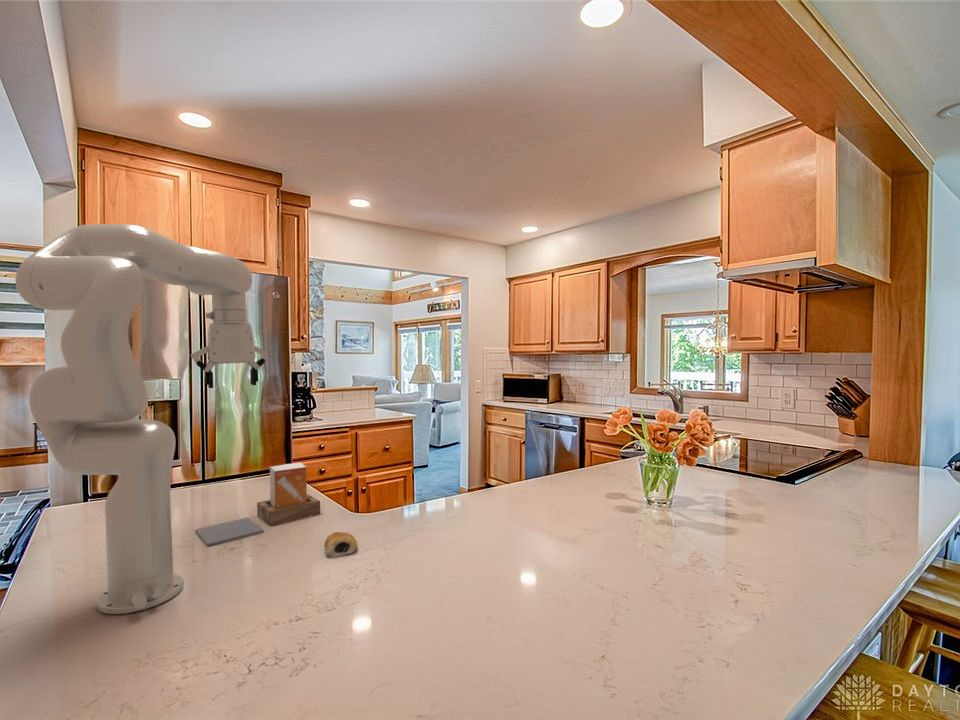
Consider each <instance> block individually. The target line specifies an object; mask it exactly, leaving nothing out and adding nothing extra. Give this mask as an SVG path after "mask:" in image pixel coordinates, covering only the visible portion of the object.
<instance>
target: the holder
mask: <svg viewBox="0 0 960 720" xmlns="http://www.w3.org/2000/svg"><path fill="white" fill-rule="evenodd" d="M256 507H257V517H259V518H260V519H261V520H262V521H264V522H265V523H266V522H267V524H268V525H269V526H271V527H274V526H278V525H283V524H286V522H287V523H291V522H294V520H295V521H298V520H297V519H299V520H301V519H300V518H303V519H305V518H304V517H307V518H309V517H308V516H311V515H315V516H317V515H316V514H319V515H321V500H319V499H317V498H315V497H314V496H312V495H310V494H308V493H307V502H306V503H301V504H297V505H293V506H288V507H284V508H280V509H274V508H272V507H271V501H270V499H268V500H263V501H258V502H256ZM311 517H312V516H311ZM290 521H291V522H290ZM282 523H283V524H282Z"/></svg>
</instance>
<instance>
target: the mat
mask: <svg viewBox="0 0 960 720" xmlns="http://www.w3.org/2000/svg"><path fill="white" fill-rule="evenodd" d="M194 530H195V533H196V535H197V534H198V535H197V536H198V537H199V538H200V539H201V541H202V540H203V541H202V542H203V543H204V544H205V546H206V547H211V546H212V547H214V546H216V545H219V544H223V543H227V542H231V541H235V540H236V541H237V540H239V539H242V538H247V537H251V536H255V535H259V534H262V533H264V528H263V527H261V526H259V524H258V523H256V522H255V521H253V520H252V519H251V518H250V517H248V516H247V517H244V518H239V519H235V520H231V521H227V522H223V523H222V522H221V523H218V524H217V523H216V524H213V525H210V526H204V527H200V528H195V529H194Z"/></svg>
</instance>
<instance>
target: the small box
mask: <svg viewBox="0 0 960 720" xmlns="http://www.w3.org/2000/svg"><path fill="white" fill-rule="evenodd" d="M307 481H308V480H307V467H306V465H304V464H303V463H302V462H296V463H285V464H281V465H273V466H269V486H270V487H269V489H270V490H269V491H270V492H269V493H270V494H269V496H270V499H269V500H270V501H271V507H272V508H274V509H280V508H284V507H288V506H293V505H297V504H301V503H306V502H307V494H308V489H307V488H308V483H307Z"/></svg>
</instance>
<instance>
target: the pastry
mask: <svg viewBox="0 0 960 720" xmlns="http://www.w3.org/2000/svg"><path fill="white" fill-rule="evenodd" d="M323 546H324V548H325V554H326V556H327V557H328V558H330V557H331V558H338V556H339V557H342V556H347V555H352V554H353V553H355V552H356V550H357V547H358V542H357V540H356V538H355V537H354V536H353V534H351V533H348V532H345V531H343V532H342V531H341V532H339V531H336V532H333V533H331V534H329V535H328V536H327V537H326V539H325V541H324V544H323Z"/></svg>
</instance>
